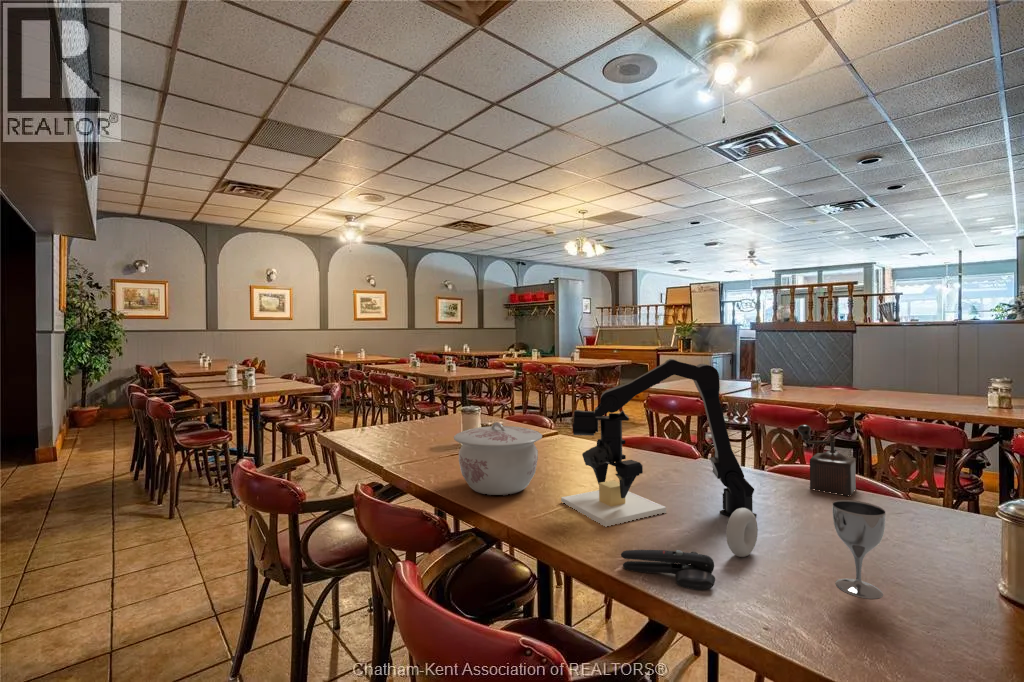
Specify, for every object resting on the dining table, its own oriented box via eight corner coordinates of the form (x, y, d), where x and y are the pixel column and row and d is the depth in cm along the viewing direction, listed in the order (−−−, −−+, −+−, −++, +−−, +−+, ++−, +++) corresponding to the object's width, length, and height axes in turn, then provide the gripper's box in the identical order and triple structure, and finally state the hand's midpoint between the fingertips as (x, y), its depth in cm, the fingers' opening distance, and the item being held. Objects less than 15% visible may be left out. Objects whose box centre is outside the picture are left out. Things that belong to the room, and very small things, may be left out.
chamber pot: (528, 508, 132) (527, 433, 132) (438, 499, 141) (437, 428, 141) (553, 479, 159) (552, 416, 158) (476, 472, 168) (475, 413, 167)
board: (666, 512, 128) (666, 507, 128) (605, 527, 119) (605, 521, 119) (617, 491, 146) (617, 486, 146) (561, 502, 137) (561, 497, 137)
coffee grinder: (857, 488, 146) (857, 428, 146) (850, 497, 138) (850, 434, 138) (799, 478, 157) (798, 422, 156) (789, 486, 149) (789, 427, 148)
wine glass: (863, 577, 93) (862, 499, 93) (897, 599, 85) (897, 514, 85) (822, 578, 93) (822, 500, 93) (853, 601, 85) (853, 515, 85)
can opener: (717, 578, 94) (716, 549, 94) (714, 596, 87) (714, 565, 87) (625, 560, 102) (625, 533, 102) (617, 575, 95) (616, 547, 95)
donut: (744, 545, 107) (744, 501, 107) (760, 551, 105) (760, 505, 105) (723, 560, 101) (722, 512, 101) (740, 565, 98) (739, 516, 98)
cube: (625, 503, 131) (625, 484, 131) (610, 506, 129) (610, 487, 129) (613, 497, 135) (613, 480, 135) (599, 500, 133) (599, 482, 133)
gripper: (567, 433, 137) (568, 488, 137) (609, 446, 120) (610, 508, 120) (599, 429, 142) (600, 482, 142) (643, 441, 125) (644, 501, 125)
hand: (612, 493), depth 132 cm, fingers open, 9 cm apart
